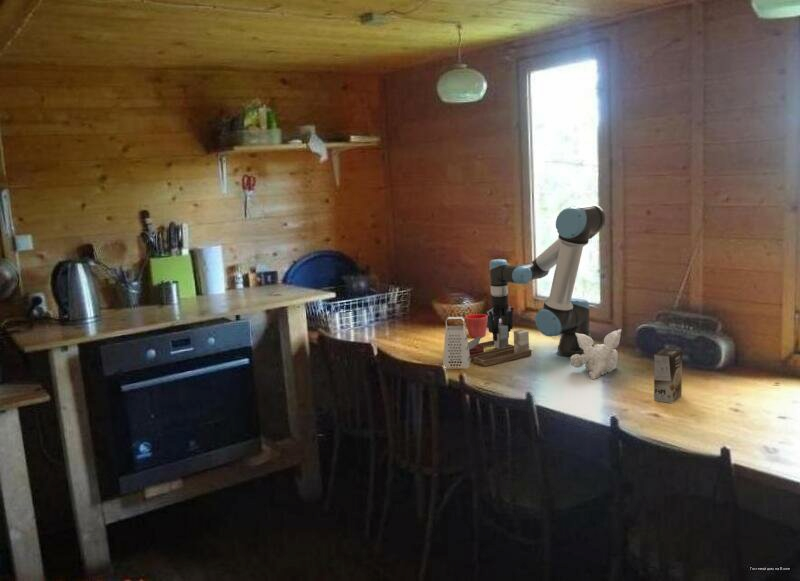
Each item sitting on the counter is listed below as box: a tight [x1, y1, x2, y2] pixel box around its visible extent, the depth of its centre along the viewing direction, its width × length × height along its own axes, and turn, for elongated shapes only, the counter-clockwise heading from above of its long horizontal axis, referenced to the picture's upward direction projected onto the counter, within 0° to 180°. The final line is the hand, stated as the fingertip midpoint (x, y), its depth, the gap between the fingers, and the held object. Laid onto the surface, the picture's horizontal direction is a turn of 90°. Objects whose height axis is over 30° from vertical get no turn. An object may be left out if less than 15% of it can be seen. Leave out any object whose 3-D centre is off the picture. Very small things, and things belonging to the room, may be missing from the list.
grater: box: [442, 316, 472, 369], centre depth 298 cm, size 10×10×20 cm
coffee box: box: [653, 348, 683, 404], centre depth 243 cm, size 9×6×16 cm
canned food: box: [468, 336, 485, 355], centre depth 313 cm, size 11×10×10 cm
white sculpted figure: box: [569, 328, 622, 380], centre depth 278 cm, size 19×20×20 cm
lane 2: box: [472, 329, 532, 367], centre depth 303 cm, size 8×24×10 cm, turn 120°
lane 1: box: [468, 323, 514, 361], centre depth 315 cm, size 14×24×10 cm, turn 120°
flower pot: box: [464, 313, 488, 339], centre depth 345 cm, size 11×11×10 cm
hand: (501, 346), depth 320 cm, fingers closed on lane 1, 4 cm apart
